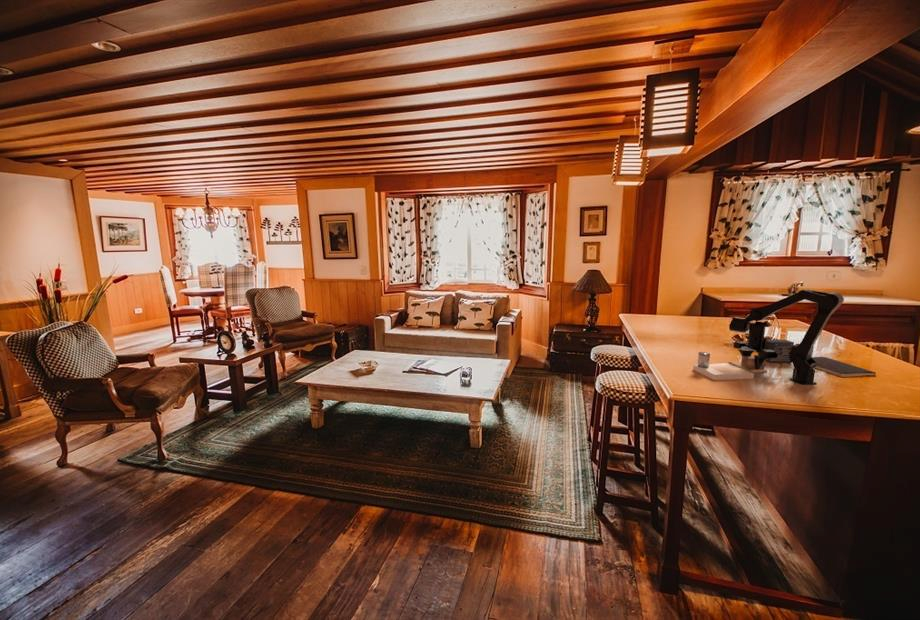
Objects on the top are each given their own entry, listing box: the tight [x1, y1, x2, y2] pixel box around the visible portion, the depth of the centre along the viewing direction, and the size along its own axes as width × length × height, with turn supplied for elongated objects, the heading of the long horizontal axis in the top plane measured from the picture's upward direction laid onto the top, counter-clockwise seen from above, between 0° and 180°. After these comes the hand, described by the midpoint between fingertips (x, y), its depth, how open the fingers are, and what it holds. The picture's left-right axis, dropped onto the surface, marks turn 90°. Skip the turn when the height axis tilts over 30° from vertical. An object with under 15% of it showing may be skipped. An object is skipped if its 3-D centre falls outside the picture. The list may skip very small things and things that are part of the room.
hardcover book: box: [812, 356, 876, 378], centre depth 180 cm, size 16×23×2 cm
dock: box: [692, 361, 755, 381], centre depth 175 cm, size 14×18×3 cm
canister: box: [696, 351, 711, 368], centre depth 178 cm, size 5×5×6 cm
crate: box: [740, 355, 768, 374], centre depth 178 cm, size 6×9×6 cm, turn 94°
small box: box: [762, 339, 795, 364], centre depth 191 cm, size 11×6×10 cm, turn 84°
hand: (752, 367), depth 179 cm, fingers closed on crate, 5 cm apart
